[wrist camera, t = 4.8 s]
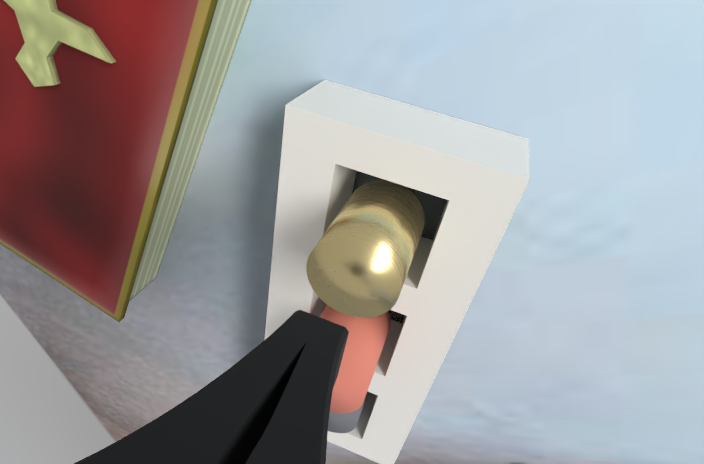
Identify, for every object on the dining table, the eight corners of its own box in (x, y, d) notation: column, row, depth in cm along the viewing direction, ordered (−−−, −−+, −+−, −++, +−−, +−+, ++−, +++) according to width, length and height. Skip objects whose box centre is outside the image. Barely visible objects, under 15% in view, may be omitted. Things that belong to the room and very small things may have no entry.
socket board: (405, 413, 26) (391, 468, 23) (285, 364, 27) (258, 410, 25) (528, 138, 16) (529, 179, 13) (324, 79, 17) (285, 104, 14)
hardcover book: (4, 172, 27) (-69, 204, 24) (-2, -279, 15) (-159, -346, 11) (164, 280, 28) (115, 325, 24) (292, -68, 15) (226, -73, 12)
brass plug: (413, 259, 17) (387, 330, 14) (342, 234, 18) (301, 297, 14) (435, 194, 15) (411, 258, 12) (355, 169, 16) (312, 224, 13)
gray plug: (373, 379, 25) (351, 440, 22) (325, 360, 26) (297, 417, 23) (384, 346, 24) (362, 408, 20) (333, 326, 24) (304, 383, 21)
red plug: (382, 349, 20) (356, 423, 17) (323, 325, 21) (286, 394, 18) (398, 304, 18) (371, 377, 15) (332, 279, 19) (294, 346, 16)
